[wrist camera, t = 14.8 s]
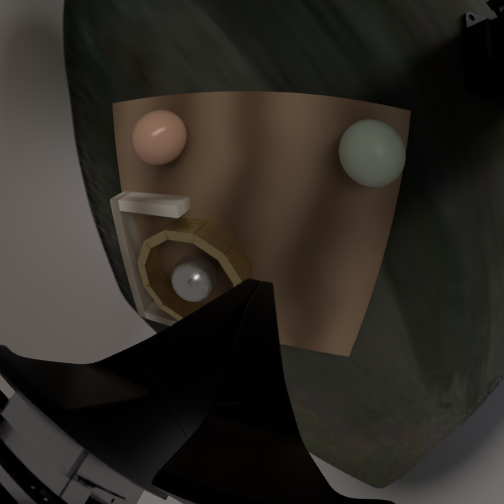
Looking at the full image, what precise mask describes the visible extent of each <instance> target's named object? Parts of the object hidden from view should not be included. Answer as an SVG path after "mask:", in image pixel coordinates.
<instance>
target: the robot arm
mask: <svg viewBox="0 0 504 504" xmlns="http://www.w3.org/2000/svg"><path fill="white" fill-rule="evenodd" d="M486 3H487V4H488V6H489V7H490V9H491V10H492V11H494V12H495V13H496V15H497V16H498V17H497V18H494V19H492V20H490V19H488V18H487V19H486V18H484V17H481V16H479V15H477V14H475V13H473V12H470V11H468V12H466V13H465V14H464V24H465V29H464V30H463V60H464V62H465V63H466V76H465V85H466V88H467V89H468V90H469V91H471V92H473V93H476V94H478V95H481V96H483V97H485V98H488V99H490V100H492V101H495V102H497V103H499V104H501V105H503V106H504V0H489V1H488V2H486ZM469 16H471V17H472V19H473V20H471V19H470V18H469ZM471 82H472V83H473V84H474V88H472V87H471V85H470V83H471ZM0 374H1V375H2V377H3V378H4V379H5V380H6V381H7V383H8V384H9V385H10V386H11V387H12V388H13V389H14V390H15V393H14V394H13V395H12V397H11V398H10V399H8V398H7V396H6V395H5V394H4V393H3V392H2V391H1V390H0V504H137V502H138V500H139V498H140V497H141V495H142V493H143V491H144V490H145V491H148V492H150V493H152V494H154V495H156V496H158V497H160V498H162V499H164V500H166V499H167V497H168V496H171V497H173V498H174V499H176V500H178V501H180V502H181V503H183V504H395V503H394V502H391V501H387V500H379V499H355V498H349V497H346V496H343V495H341V494H339V493H337V492H336V491H334V489H332V487H331V486H330V485H329V483H328V482H327V481H326V479H325V477H324V476H323V474H322V473H321V471H320V470H319V468H318V466H317V465H316V463H315V462H314V460H313V459H312V457H311V455H310V454H309V452H308V451H307V449H306V447H305V445H304V443H303V441H302V439H301V436H300V433H299V430H298V427H297V423H296V420H295V416H294V413H293V410H292V406H291V403H290V399H289V396H288V392H287V388H286V383H285V379H284V373H283V366H282V357H281V349H280V339H279V330H278V321H277V312H276V303H275V295H274V286H273V283H272V282H268V281H260V280H257V279H252V278H248V279H246V280H244V281H242V282H241V283H239V284H238V285H236V286H234V287H233V288H231V289H230V290H228V291H226V292H225V293H223V294H222V295H220V296H218V297H217V298H215V299H213V300H212V301H210V302H209V303H207V304H205V305H204V306H202V307H200V308H199V309H197V310H195V311H194V312H192V313H191V314H189V315H187V316H186V317H184V318H182V319H181V320H179V321H177V322H176V323H174V324H172V327H171V326H169V327H167V328H166V329H164V330H162V331H161V332H159V333H157V334H155V335H154V336H152V337H150V338H148V339H146V340H144V341H142V342H140V343H138V344H136V345H134V346H132V347H130V348H127V349H125V350H123V351H121V352H119V353H116V354H114V355H112V356H110V357H108V358H105V359H103V360H101V361H98V362H95V363H90V364H72V363H62V362H53V361H44V360H37V359H31V358H26V357H22V356H19V355H17V354H15V353H13V352H12V351H11V350H9V348H7V347H6V346H4V345H0Z"/></svg>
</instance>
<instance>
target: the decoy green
mask: <svg viewBox="0 0 504 504" xmlns="http://www.w3.org/2000/svg"><path fill="white" fill-rule="evenodd" d="M339 157H340V161H341V164H342V166H343V168H344V170H345V172H346V173H347V174H348V175H349V176H350V177H351V178H352V179H353V180H354V181H356V182H357V183H359V184H361V185H364V186H368V187H381V186H385V185H387V184H390V183H391V182H393V181H394V180H395V179H396V178H397V177H398V176H399V175H400V173H401V172H402V170H403V167H404V164H405V158H406V153H405V147H404V144H403V141H402V139H401V137H400V136H399V134H398V133H397V132H396V131H395V130H394V129H393V128H392V127H391V126H389V125H388V124H386V123H384V122H381V121H378V120H362V121H358V122H356V123H354V124H353V125H351V126H350V127H349V128H348V129H347V130H346V131H345V133H344V134H343V136H342V138H341V140H340V144H339Z"/></svg>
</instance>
